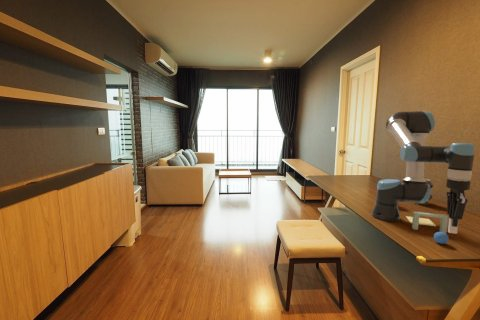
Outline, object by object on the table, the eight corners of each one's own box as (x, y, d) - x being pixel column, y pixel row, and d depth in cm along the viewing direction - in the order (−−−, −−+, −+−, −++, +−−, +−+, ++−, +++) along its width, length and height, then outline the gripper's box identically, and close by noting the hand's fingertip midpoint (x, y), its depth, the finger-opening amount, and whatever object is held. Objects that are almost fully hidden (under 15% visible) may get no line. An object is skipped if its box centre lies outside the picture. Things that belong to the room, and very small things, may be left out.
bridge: (446, 233, 127) (448, 216, 126) (413, 229, 132) (415, 213, 131) (444, 231, 130) (446, 214, 129) (411, 227, 135) (413, 211, 134)
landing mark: (411, 223, 140) (411, 223, 140) (405, 216, 152) (405, 216, 152) (436, 226, 136) (436, 226, 136) (428, 219, 147) (428, 218, 147)
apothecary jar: (428, 202, 182) (431, 178, 180) (433, 206, 171) (436, 181, 169) (409, 200, 187) (411, 177, 185) (412, 204, 176) (415, 180, 174)
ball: (435, 244, 115) (437, 233, 114) (431, 239, 120) (432, 229, 119) (450, 246, 113) (451, 235, 112) (445, 241, 118) (446, 230, 117)
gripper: (478, 183, 96) (471, 240, 98) (462, 177, 108) (456, 228, 110) (454, 181, 98) (448, 237, 101) (441, 176, 110) (436, 226, 113)
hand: (452, 232), depth 106 cm, fingers closed
